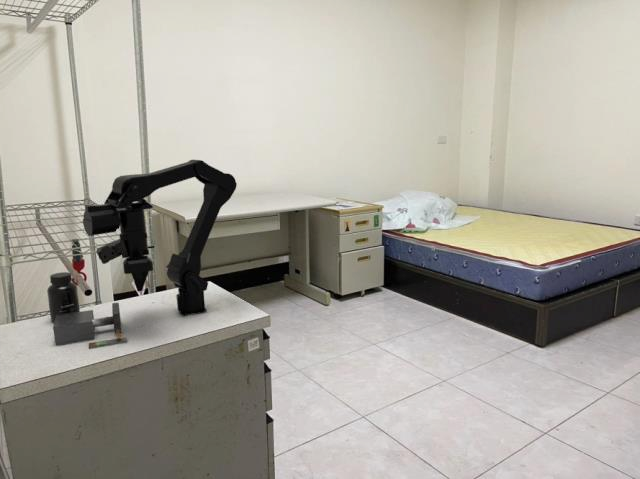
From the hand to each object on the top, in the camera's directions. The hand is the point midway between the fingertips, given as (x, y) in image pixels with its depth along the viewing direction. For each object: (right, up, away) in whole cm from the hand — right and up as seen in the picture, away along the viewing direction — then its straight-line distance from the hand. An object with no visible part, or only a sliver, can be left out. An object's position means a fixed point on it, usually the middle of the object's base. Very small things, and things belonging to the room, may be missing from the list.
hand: (139, 290), depth 118 cm
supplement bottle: (-22, -8, +7) cm, 24 cm away
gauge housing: (-10, -11, -5) cm, 15 cm away
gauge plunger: (-9, -10, -4) cm, 14 cm away
